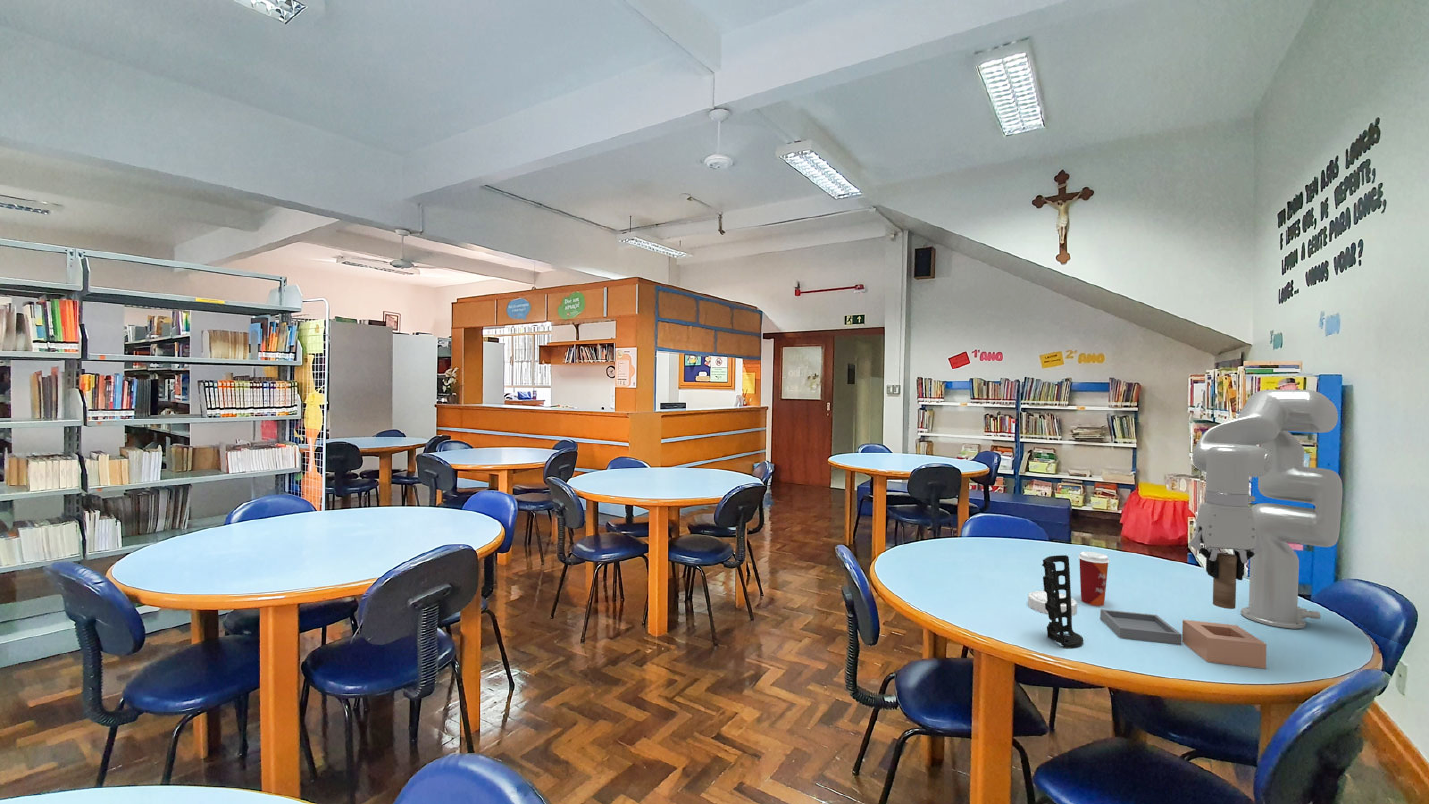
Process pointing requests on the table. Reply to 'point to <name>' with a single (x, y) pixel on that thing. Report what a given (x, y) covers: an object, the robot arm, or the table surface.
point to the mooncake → (1040, 598)
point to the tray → (1140, 627)
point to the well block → (1224, 644)
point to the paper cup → (1093, 577)
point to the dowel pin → (1225, 581)
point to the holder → (1059, 602)
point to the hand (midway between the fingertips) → (1224, 576)
